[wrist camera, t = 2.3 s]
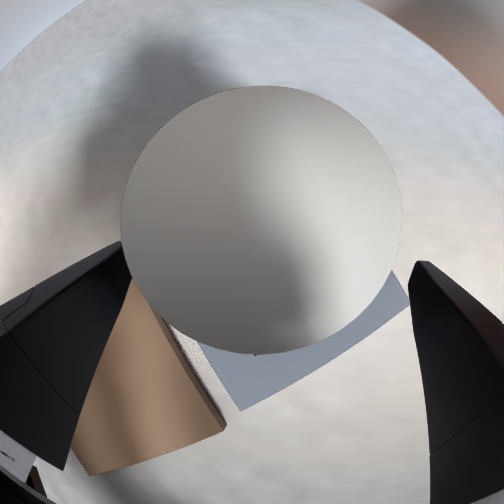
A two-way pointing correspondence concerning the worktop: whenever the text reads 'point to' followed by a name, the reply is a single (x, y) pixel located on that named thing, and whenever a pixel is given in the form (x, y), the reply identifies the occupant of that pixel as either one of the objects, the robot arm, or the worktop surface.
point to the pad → (141, 395)
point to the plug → (261, 220)
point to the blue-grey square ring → (300, 352)
